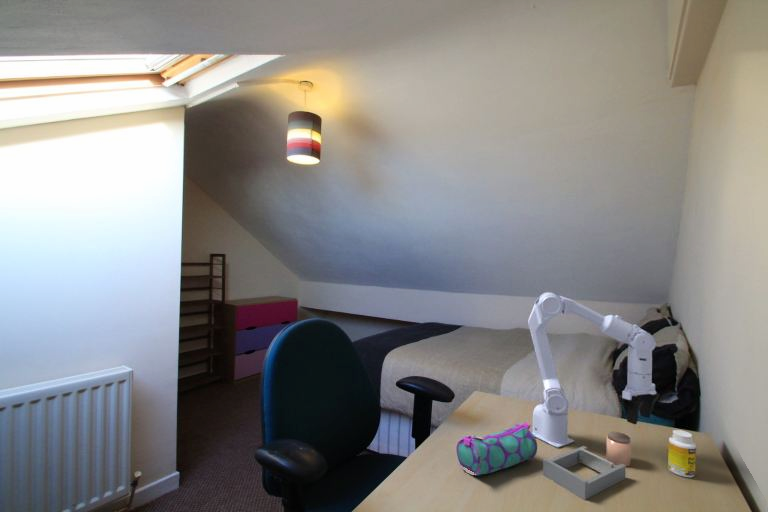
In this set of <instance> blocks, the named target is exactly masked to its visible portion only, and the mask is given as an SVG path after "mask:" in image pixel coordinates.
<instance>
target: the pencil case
mask: <svg viewBox="0 0 768 512" xmlns="http://www.w3.org/2000/svg"><path fill="white" fill-rule="evenodd" d="M530 428H531V424H529V423H528V422H525V421H524V422H523V424H514V426H511V427H509V428H507V429H505V430H501V431H498V432H495V433H494V432H493V433H491V434H488V435H484V436H477V435H475V434H472V435H465V436H464V437H462V438H460V439H459V440H458V442H457V443H456V456H457V459H458V462H459V465H460V466H461V465H462V466H463V467H465V468H467V469H468V470H470V471H472V472H474V474H476V475H475V476H480V475H486V474H491V473H494V472H498V470H499V471H501V469H502V470H506V469H507V468H510V467H512V466H515V465H518V464H521V463H523V462H526V461H528V460H530V459H533V458H534V457H536V455H537V451H538V442H537V440H536V437H535V436H534V435H533V434H532V432H533V431H531V430H529V429H530Z"/></svg>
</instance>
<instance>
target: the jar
mask: <svg viewBox="0 0 768 512" xmlns="http://www.w3.org/2000/svg"><path fill="white" fill-rule="evenodd" d="M631 441H632V440H631V437H630V436H628V435H627V434H625V433H623V432H619V431H608V432H607V435H606V452H605V455H606V457H605V459H606V460H608V461H610V462H612V463H614V466H617V465H620V464H624V465H626V468H628V467H630V466H631V457H632V456H631V452H632V451H631V450H632V449H631V448H632V442H631Z"/></svg>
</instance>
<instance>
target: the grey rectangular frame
mask: <svg viewBox="0 0 768 512" xmlns="http://www.w3.org/2000/svg"><path fill="white" fill-rule="evenodd" d="M581 448H583V449H585V450H587V451H588V447H587V446H585V445H582V446H579V447H577V448H575V449H573V450H572V449H571V450H570V451H567V452H565V453H562V454H560V455H558V456H555V457H553V458H550V459H548V458H546V457H545V458H543V459H542V460H543V461H542V462H543V463H542V465H543V466H542V475H543V476H544V477H545V478H547V477H548V478H547V479H549V480H551V481H552V480H553V481H552V482H554V483H556V484H557V483H558V484H557V485H560V486H561V487H563V488H564V489H566V490H568V491H570V493H573V494H574V495H576V496H577V497H579V498H581V499H583V500H584V501H585V500H587V499H588V498H591V497H593V496H595V495H597V494H599V493H600V492H602V491H604V490H606V489H608V488H610V487H612V486H614V485H617V484H618V483H620V482H621V481H624V480H625V479H626V474H627V473H626V469H627V467H626V465H624V464H620V465H614V467H613V468H611V469H609V470H607V471H605V472H603V473H598V474H597V475H595V476H593V477H590V478H588V479H585V478H583V477H581V476H579V475H577V474H575V473H574V472H572V471H570V470H568V469H569V468H570V467H573V466H575V465H577V464H581V462H579V449H581Z"/></svg>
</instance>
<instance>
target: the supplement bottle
mask: <svg viewBox="0 0 768 512" xmlns="http://www.w3.org/2000/svg"><path fill="white" fill-rule="evenodd" d="M696 451H697V445H696V443H695V442H694V441H693V435H692V433H690V432H688V431H685V430H683V429H673V430H672V435H671V436H669V438H668V454H667V466H668V469H669V471H670V472H671V473H673V474H675V475H677V476H680V477H683V478H693V477H694V476H695V475H696V461H697V460H696V458H697V457H696V455H697V454H696V453H697V452H696Z"/></svg>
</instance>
